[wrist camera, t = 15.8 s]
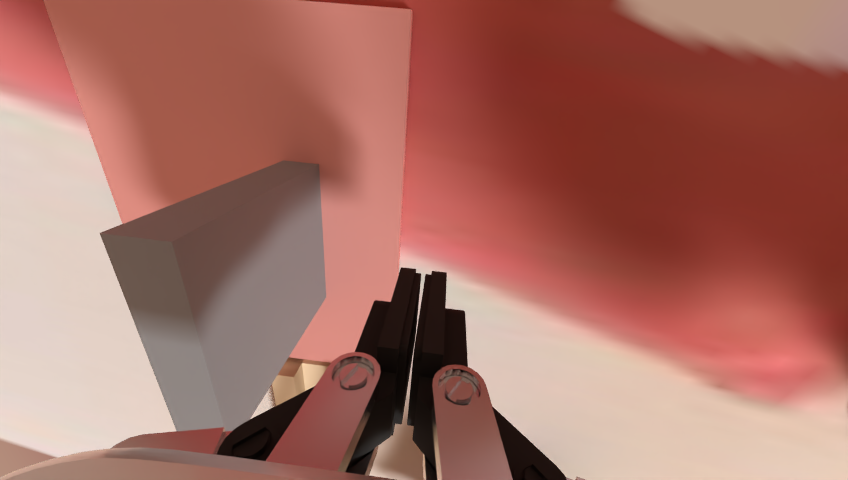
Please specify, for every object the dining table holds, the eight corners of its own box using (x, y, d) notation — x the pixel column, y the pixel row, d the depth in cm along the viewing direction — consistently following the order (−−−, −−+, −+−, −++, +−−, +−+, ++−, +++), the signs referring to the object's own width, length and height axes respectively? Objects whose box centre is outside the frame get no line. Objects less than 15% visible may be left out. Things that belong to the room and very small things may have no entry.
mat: (412, 11, 13) (411, 9, 13) (393, 365, 22) (392, 370, 21) (49, -17, 14) (35, -21, 13) (170, 335, 22) (164, 340, 22)
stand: (367, 366, 22) (361, 386, 20) (367, 461, 27) (362, 482, 25) (278, 355, 22) (265, 373, 21) (293, 450, 27) (284, 471, 25)
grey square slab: (172, 242, 7) (231, 448, 11) (319, 164, 16) (326, 296, 19) (91, 232, 8) (175, 441, 11) (279, 159, 16) (294, 292, 19)
